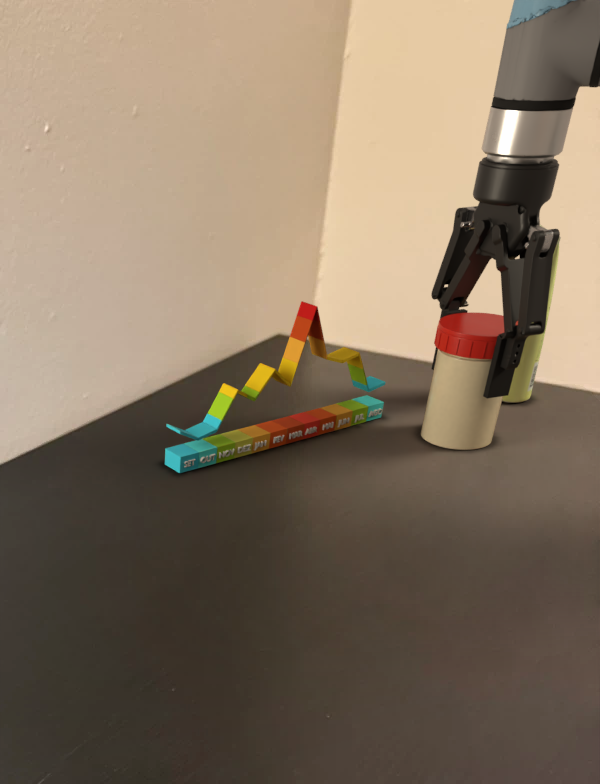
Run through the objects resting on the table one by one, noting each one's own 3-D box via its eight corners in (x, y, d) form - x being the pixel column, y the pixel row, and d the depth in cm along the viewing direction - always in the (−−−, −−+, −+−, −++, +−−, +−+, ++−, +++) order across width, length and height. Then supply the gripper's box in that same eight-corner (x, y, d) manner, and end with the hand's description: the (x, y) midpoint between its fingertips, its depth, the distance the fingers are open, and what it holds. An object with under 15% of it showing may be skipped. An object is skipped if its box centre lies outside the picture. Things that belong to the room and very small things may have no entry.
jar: (506, 444, 114) (534, 338, 106) (446, 454, 112) (470, 346, 105) (464, 420, 120) (488, 318, 112) (407, 429, 118) (427, 325, 111)
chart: (181, 474, 109) (188, 335, 100) (164, 464, 112) (170, 328, 102) (382, 418, 121) (406, 289, 112) (364, 410, 123) (385, 283, 114)
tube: (476, 395, 126) (515, 229, 114) (499, 386, 129) (540, 222, 117) (515, 407, 123) (560, 237, 111) (538, 397, 125) (585, 230, 113)
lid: (418, 339, 112) (422, 317, 110) (487, 330, 114) (492, 308, 112) (464, 363, 105) (470, 340, 104) (538, 353, 107) (544, 331, 105)
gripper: (631, 170, 91) (561, 409, 104) (484, 140, 107) (440, 350, 121) (563, 177, 89) (501, 419, 103) (424, 144, 105) (387, 357, 119)
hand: (468, 381), depth 112 cm, fingers open, 9 cm apart
